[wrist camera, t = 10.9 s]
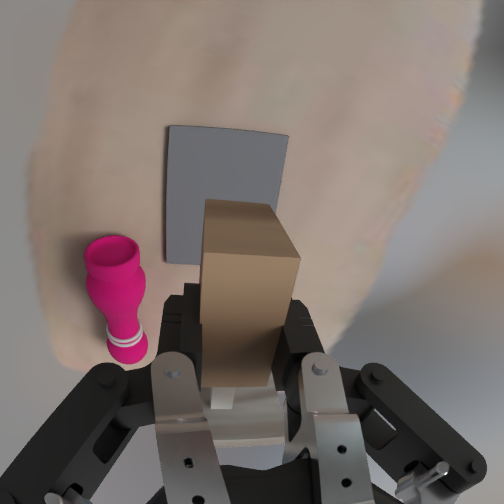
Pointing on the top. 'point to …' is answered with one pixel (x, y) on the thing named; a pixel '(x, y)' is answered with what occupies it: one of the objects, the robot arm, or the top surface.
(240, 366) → the wood and metal piece
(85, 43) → the top surface
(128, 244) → the pepper mill
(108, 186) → the top surface
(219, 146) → the mat
